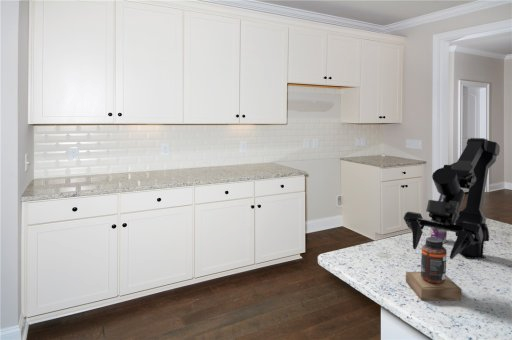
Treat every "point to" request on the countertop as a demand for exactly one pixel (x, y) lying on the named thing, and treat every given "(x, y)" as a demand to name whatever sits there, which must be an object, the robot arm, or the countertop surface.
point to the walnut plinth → (433, 288)
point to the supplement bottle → (433, 261)
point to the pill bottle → (439, 233)
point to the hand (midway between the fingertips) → (431, 253)
